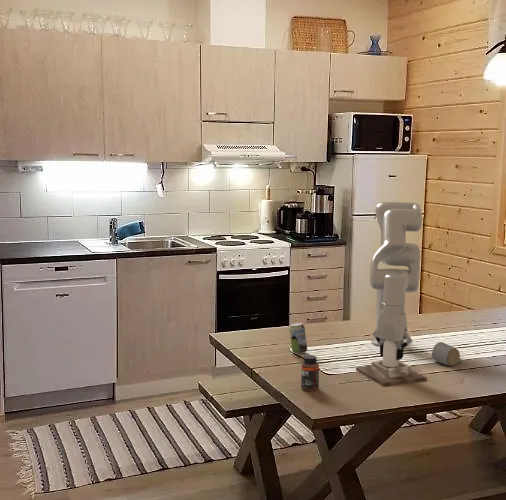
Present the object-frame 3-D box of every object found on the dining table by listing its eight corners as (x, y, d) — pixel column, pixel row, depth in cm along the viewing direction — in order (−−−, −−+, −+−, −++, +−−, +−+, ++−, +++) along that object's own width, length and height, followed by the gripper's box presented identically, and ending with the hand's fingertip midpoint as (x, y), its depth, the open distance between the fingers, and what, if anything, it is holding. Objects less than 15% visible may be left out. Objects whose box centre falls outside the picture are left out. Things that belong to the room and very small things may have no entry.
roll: (396, 330, 252) (403, 334, 246) (394, 362, 253) (402, 367, 248) (381, 331, 250) (388, 335, 245) (379, 363, 252) (386, 368, 246)
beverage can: (306, 356, 271) (307, 326, 269) (287, 354, 273) (288, 325, 271) (308, 351, 277) (309, 322, 276) (290, 350, 279) (290, 321, 277)
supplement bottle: (317, 385, 238) (318, 353, 236) (319, 392, 232) (320, 359, 230) (300, 385, 238) (300, 353, 236) (301, 392, 232) (302, 359, 230)
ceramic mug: (447, 368, 259) (449, 348, 258) (430, 362, 266) (432, 343, 264) (466, 364, 265) (467, 344, 264) (449, 358, 271) (450, 339, 270)
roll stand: (397, 364, 262) (397, 354, 262) (426, 379, 246) (426, 369, 245) (355, 370, 255) (356, 359, 255) (382, 385, 239) (383, 374, 238)
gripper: (366, 306, 249) (364, 355, 252) (411, 314, 239) (408, 364, 241) (376, 303, 255) (374, 350, 258) (420, 310, 245) (418, 359, 247)
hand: (391, 357), depth 250 cm, fingers closed on roll, 5 cm apart
